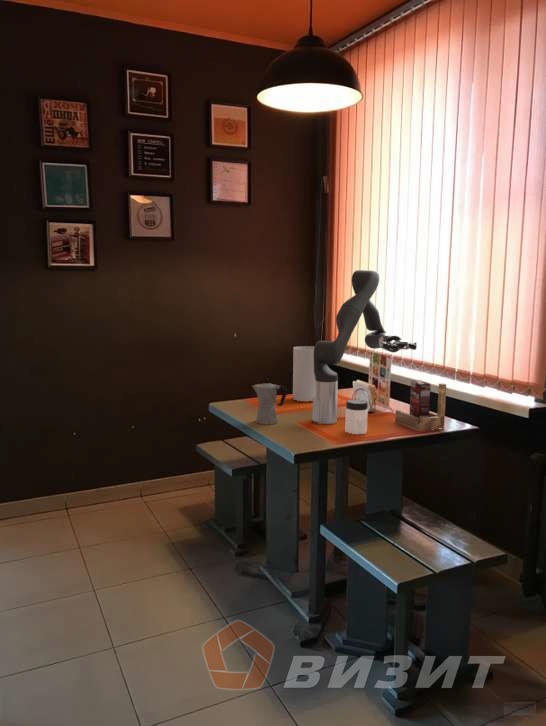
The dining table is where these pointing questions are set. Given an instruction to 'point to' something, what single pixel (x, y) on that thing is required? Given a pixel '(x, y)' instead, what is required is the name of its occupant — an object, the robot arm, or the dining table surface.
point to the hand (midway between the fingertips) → (405, 347)
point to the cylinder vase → (303, 373)
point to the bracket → (429, 422)
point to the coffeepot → (268, 401)
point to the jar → (356, 416)
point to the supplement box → (419, 398)
